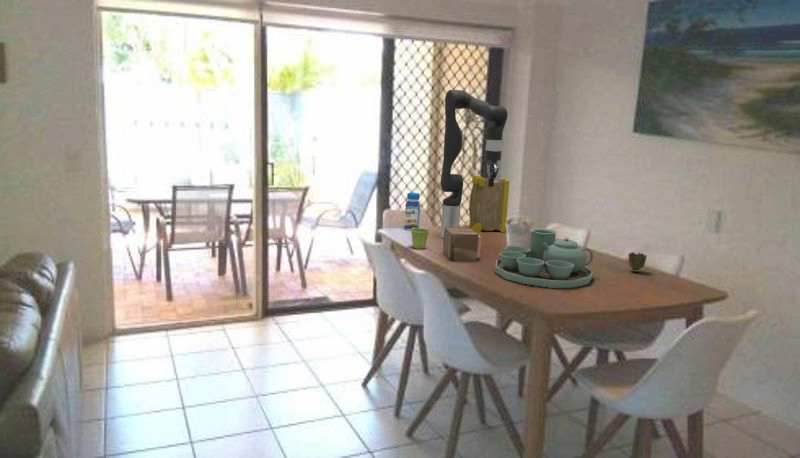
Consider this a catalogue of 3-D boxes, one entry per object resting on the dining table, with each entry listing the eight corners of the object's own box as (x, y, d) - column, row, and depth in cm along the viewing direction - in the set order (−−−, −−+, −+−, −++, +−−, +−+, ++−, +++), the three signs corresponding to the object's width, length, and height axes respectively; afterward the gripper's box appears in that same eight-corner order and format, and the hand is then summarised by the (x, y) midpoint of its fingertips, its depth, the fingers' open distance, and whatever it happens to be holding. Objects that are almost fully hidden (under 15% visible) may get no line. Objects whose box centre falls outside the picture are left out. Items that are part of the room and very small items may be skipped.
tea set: (477, 266, 266) (479, 229, 263) (552, 261, 282) (556, 226, 279) (530, 293, 231) (534, 250, 228) (614, 285, 247) (618, 245, 243)
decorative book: (502, 228, 353) (505, 176, 347) (506, 232, 342) (510, 178, 336) (467, 227, 351) (470, 175, 345) (470, 231, 340) (474, 177, 335)
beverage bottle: (422, 229, 340) (424, 193, 336) (412, 231, 334) (413, 194, 330) (411, 227, 345) (413, 191, 342) (400, 228, 339) (402, 192, 335)
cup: (644, 271, 271) (646, 253, 269) (645, 275, 264) (647, 256, 263) (626, 268, 273) (628, 251, 272) (626, 272, 266) (628, 254, 265)
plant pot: (429, 246, 301) (430, 228, 299) (428, 250, 291) (429, 232, 290) (410, 244, 301) (411, 227, 300) (408, 249, 292) (409, 231, 291)
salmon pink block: (453, 250, 287) (454, 231, 286) (473, 250, 289) (474, 231, 287) (459, 256, 276) (460, 236, 274) (479, 257, 277) (481, 237, 275)
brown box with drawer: (443, 252, 289) (444, 227, 287) (468, 252, 291) (469, 227, 288) (450, 260, 273) (452, 234, 271) (476, 261, 275) (478, 234, 273)
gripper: (482, 148, 293) (479, 184, 297) (489, 150, 281) (486, 188, 284) (497, 148, 294) (494, 185, 298) (505, 151, 282) (502, 188, 285)
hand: (490, 186), depth 291 cm, fingers closed
